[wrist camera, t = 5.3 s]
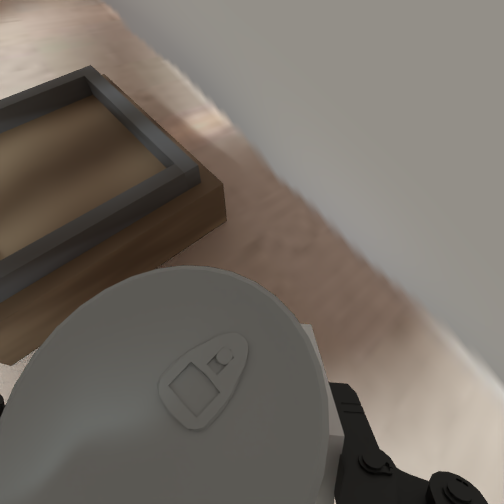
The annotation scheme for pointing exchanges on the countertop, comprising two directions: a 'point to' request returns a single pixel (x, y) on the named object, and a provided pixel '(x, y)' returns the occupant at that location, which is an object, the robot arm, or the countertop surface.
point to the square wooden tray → (87, 201)
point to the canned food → (169, 399)
